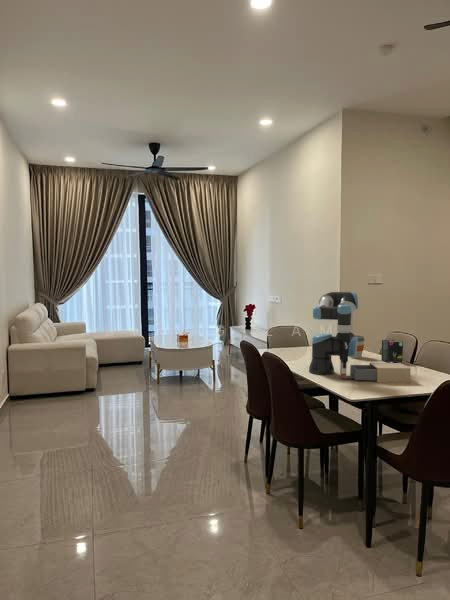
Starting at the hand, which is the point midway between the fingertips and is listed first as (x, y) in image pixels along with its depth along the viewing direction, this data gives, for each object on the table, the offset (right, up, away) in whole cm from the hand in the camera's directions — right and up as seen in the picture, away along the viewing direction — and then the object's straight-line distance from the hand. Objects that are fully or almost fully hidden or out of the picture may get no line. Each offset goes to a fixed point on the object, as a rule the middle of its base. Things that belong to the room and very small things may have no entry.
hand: (343, 372), depth 252 cm
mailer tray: (+11, -3, 0) cm, 11 cm away
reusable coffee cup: (+27, 0, +68) cm, 73 cm away
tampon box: (+47, -1, +52) cm, 70 cm away
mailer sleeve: (+26, -3, -1) cm, 26 cm away
